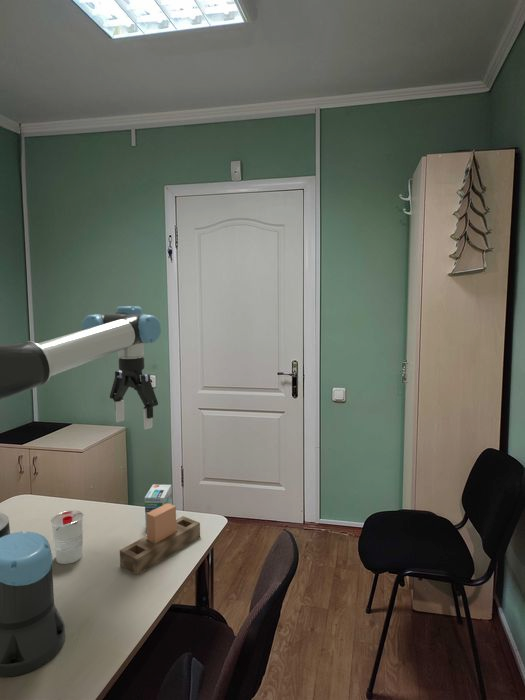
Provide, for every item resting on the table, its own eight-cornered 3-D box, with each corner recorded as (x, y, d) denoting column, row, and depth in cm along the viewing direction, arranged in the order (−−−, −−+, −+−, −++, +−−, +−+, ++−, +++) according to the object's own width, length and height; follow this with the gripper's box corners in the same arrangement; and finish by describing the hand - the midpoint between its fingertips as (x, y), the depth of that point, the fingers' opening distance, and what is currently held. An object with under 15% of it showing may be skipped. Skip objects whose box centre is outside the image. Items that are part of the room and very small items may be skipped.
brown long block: (137, 575, 120) (136, 559, 119) (120, 565, 124) (119, 550, 124) (200, 536, 139) (199, 522, 139) (183, 529, 143) (183, 516, 143)
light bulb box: (165, 529, 143) (164, 497, 142) (144, 529, 143) (143, 497, 142) (173, 513, 154) (172, 483, 153) (153, 513, 154) (152, 483, 153)
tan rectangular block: (155, 556, 127) (154, 516, 126) (147, 552, 129) (146, 513, 128) (176, 544, 134) (175, 506, 132) (168, 540, 136) (167, 503, 135)
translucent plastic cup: (72, 569, 123) (69, 527, 121) (44, 565, 124) (42, 524, 123) (92, 549, 132) (90, 510, 131) (67, 546, 134) (65, 508, 133)
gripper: (168, 358, 132) (170, 428, 135) (116, 352, 147) (119, 416, 149) (148, 361, 126) (150, 434, 129) (96, 355, 141) (99, 421, 143)
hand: (133, 424), depth 139 cm, fingers open, 13 cm apart
